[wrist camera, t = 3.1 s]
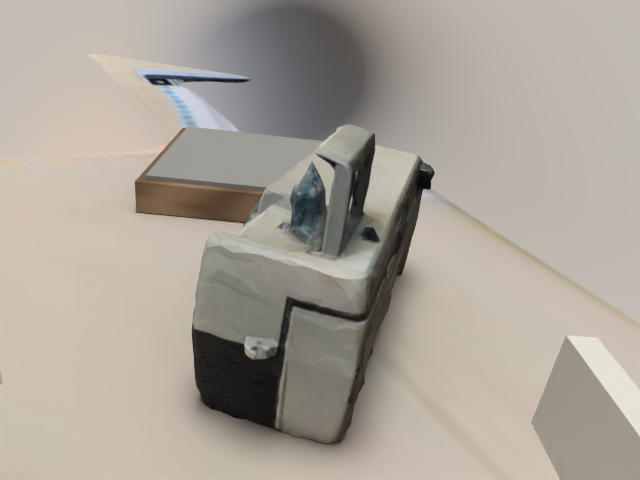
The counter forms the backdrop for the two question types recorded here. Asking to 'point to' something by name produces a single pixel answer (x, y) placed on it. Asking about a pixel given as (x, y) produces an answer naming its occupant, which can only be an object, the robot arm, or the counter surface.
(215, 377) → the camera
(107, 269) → the counter surface
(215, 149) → the walnut stand
